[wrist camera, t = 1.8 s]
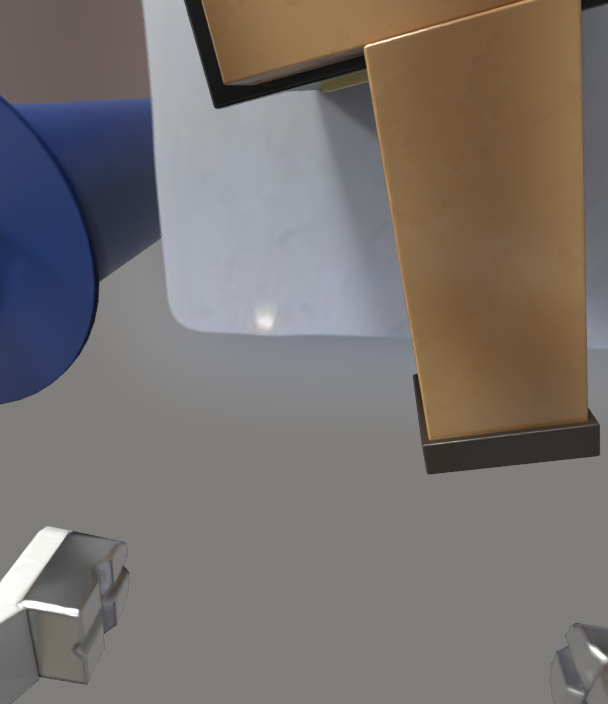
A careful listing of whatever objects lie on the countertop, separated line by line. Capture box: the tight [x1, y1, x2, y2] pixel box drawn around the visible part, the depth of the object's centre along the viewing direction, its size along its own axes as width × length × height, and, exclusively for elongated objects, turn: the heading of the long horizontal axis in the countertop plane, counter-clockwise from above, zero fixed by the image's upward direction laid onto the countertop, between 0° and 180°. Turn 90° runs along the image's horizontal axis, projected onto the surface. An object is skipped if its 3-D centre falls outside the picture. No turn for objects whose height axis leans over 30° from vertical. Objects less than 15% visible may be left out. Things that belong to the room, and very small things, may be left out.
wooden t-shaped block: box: [201, 0, 600, 474], centre depth 12 cm, size 10×18×4 cm, turn 13°
